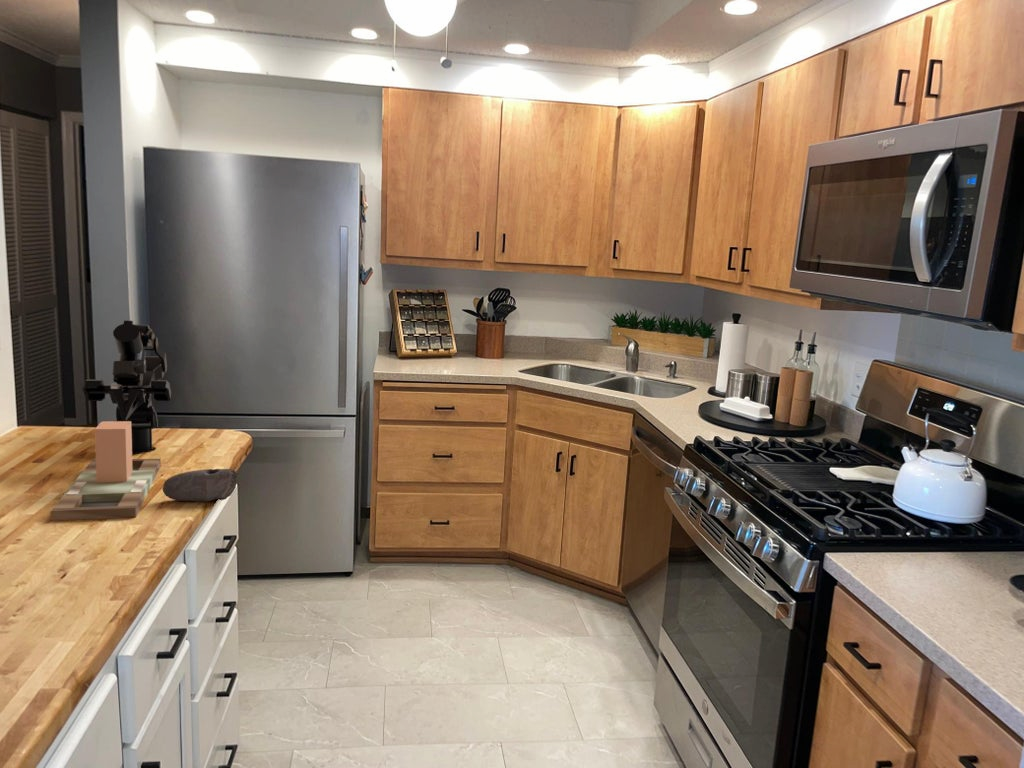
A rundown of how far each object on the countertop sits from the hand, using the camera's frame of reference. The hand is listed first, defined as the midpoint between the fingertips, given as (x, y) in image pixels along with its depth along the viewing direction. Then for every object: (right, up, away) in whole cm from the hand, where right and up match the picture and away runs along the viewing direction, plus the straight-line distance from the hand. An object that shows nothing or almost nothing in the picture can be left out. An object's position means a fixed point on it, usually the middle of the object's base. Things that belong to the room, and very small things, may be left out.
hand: (124, 420), depth 179 cm
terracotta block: (+3, -12, -9) cm, 16 cm away
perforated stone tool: (+24, -17, -15) cm, 33 cm away
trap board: (+4, -15, -12) cm, 20 cm away
